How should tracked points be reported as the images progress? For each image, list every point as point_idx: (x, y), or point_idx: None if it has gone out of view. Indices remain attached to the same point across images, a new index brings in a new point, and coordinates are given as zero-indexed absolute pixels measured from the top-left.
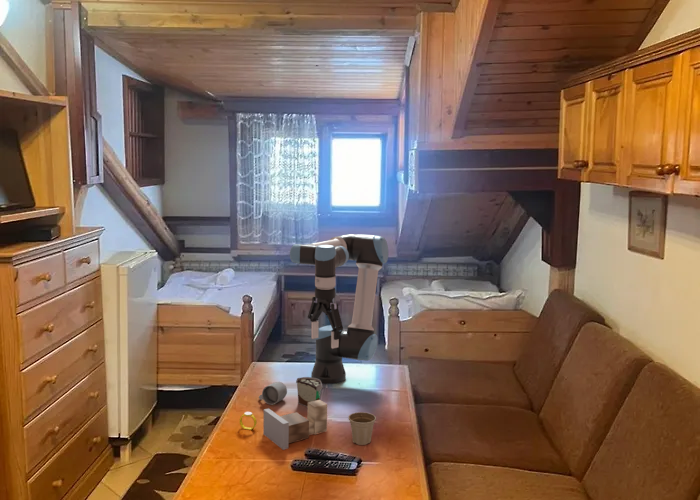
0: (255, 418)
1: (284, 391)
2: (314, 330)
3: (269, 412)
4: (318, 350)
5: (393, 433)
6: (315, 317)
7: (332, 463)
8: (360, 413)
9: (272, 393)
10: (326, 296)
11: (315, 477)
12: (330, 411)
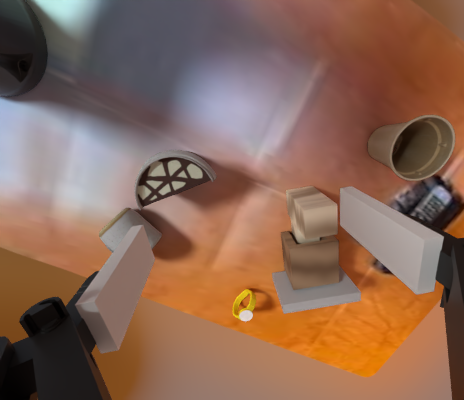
0: (251, 299)
1: (138, 221)
2: (136, 280)
3: (301, 308)
4: None
5: (393, 57)
6: (101, 381)
7: None
8: (395, 139)
9: None
10: None
11: None
12: (228, 139)
